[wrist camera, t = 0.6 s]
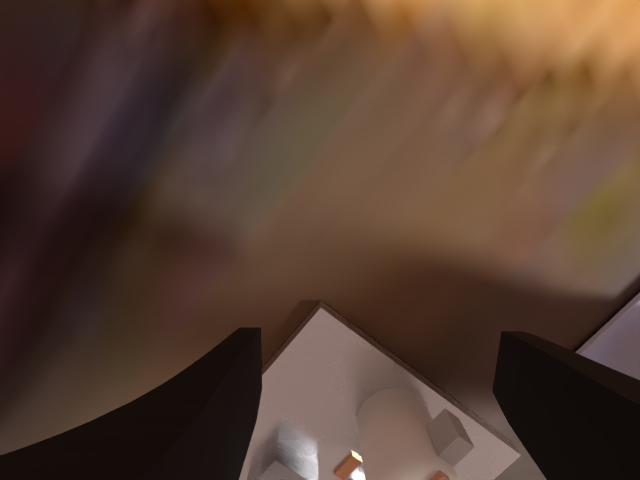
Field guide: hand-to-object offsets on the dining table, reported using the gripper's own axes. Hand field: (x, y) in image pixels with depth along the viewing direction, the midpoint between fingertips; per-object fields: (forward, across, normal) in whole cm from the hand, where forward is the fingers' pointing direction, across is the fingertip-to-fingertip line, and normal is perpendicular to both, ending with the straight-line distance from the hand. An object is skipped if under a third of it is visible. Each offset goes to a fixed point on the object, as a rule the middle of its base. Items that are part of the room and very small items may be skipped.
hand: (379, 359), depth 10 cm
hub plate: (+10, +1, +14) cm, 17 cm away
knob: (+9, -3, +10) cm, 13 cm away
